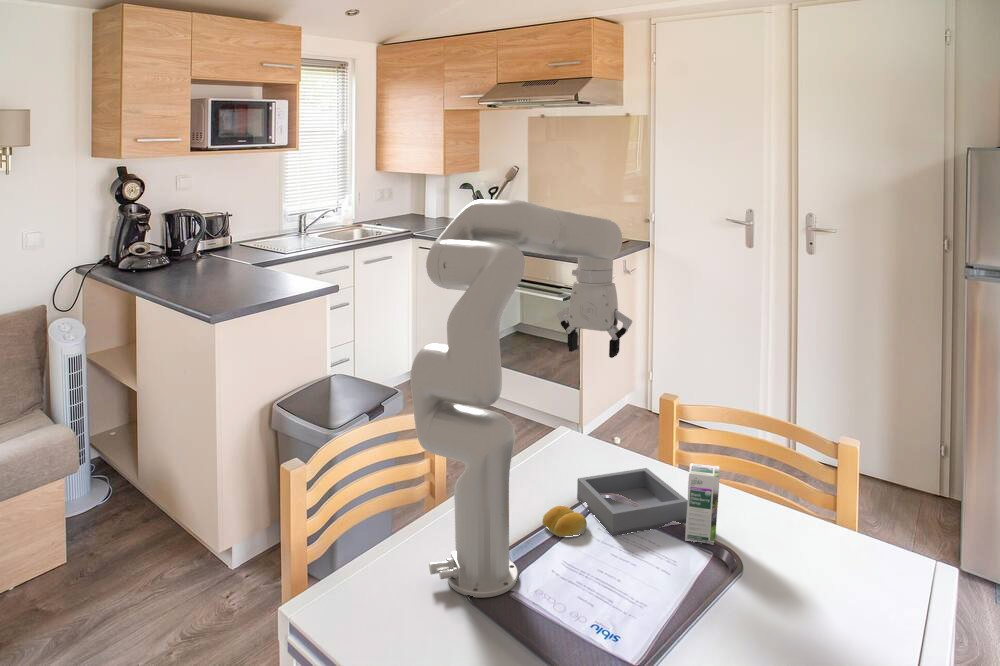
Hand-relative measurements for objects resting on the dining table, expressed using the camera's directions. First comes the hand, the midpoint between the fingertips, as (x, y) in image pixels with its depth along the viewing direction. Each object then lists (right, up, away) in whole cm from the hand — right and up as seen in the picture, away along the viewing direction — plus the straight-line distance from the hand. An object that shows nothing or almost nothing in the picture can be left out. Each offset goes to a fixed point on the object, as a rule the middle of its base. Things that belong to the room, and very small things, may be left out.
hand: (592, 353), depth 157 cm
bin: (+7, -33, -6) cm, 35 cm away
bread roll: (-7, -36, -12) cm, 38 cm away
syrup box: (+19, -36, -16) cm, 44 cm away
